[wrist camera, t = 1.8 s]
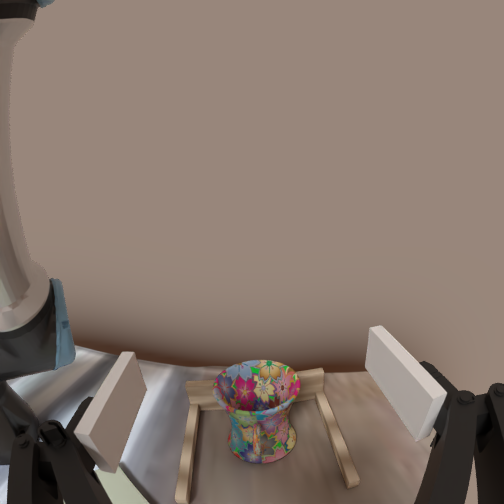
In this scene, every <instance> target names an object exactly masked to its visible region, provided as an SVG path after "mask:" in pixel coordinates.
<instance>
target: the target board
mask: <svg viewBox="0 0 504 504" xmlns="http://www.w3.org/2000/svg"><path fill="white" fill-rule="evenodd" d="M95 472H96V474H97V476H98V478H99V480H100V482H101V484H102V485H103V487H104V489H105V491H106V493H107V495H108V496H109V498H110V500H111V502H112V503H113V504H149V503H148V501H147V500H146V499H145V498H144V497H143V496H142V495H141V493H140V492H139V491H138V490H137V489H136V487H135V486H134V485H133V484H132V483H131V481H130V480H129V479H128V478H127V476H126V475H125V474H124V472H123V471H122V470H121V468H120V467H119V466H118V468H117V471H116V474H114V473H109V472H104V471H101V470H100V469H98V470H96V471H95ZM63 500H64V499H63ZM64 504H65V502H64Z"/></svg>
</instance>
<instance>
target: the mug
mask: <svg viewBox="0 0 504 504" xmlns="http://www.w3.org/2000/svg"><path fill="white" fill-rule="evenodd" d="M212 389H213V395H214V398H215V400H216V401H217V402H218V403H219V405H220V406H222V407H223V409H224V410H225V411H226V412H227V414H228V415H229V418H230V420H231V423H232V430H231V431H230V433H229V437H228V444H229V447H230V449H231V451H232V452H233V453H234V454H235V455H236V456H237V457H239V458H240V459H242V460H244V461H247V462H251V463H269V462H273V461H276V460H279V459H281V458H283V457H284V456H286V455H287V454H288V453H289V452H290V451H291V450H292V448H293V447H294V445H295V441H296V433H295V430H294V428H293V427H292V426H291V424H290V423H289V411H290V408H291V405H292V403H293V401H294V400H295V398H296V397H297V395H298V393H299V391H300V379H299V376H298V375H297V373H296V372H295V371H294V370H293V369H292V368H290V367H288V366H287V365H285V364H282V363H279V362H275V361H269V360H252V361H246V362H242V363H238V364H236V365H233V366H231V367H229V368H227V369H226V370H224V371H223V372H221V373H220V374H219V375H218V377H217V378H216V379H215V381H214V384H213V388H212Z"/></svg>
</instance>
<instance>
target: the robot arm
mask: <svg viewBox="0 0 504 504" xmlns="http://www.w3.org/2000/svg"><path fill="white" fill-rule="evenodd" d="M53 2H54V0H0V465H6V464H10V466H9V476H8V490H7V504H64V502H65V504H113V503H112V502H111V500H110V498H109V496H108V495H107V493H106V491H105V489H104V487H103V485H102V484H101V482H100V480H99V478H98V476H97V474H96V472H95V471H94V470H93V469H94V467H95V464H96V465H97V466H98V467H99V469H100V470H101V471H104V472H109V473H114V474H116V471H117V468H118V465H119V462H120V460H121V457H122V454H123V451H124V448H125V446H126V443H127V440H128V438H129V435H130V432H131V430H132V427H133V424H134V422H135V419H136V416H137V414H138V411H139V409H140V406H141V403H142V401H143V398H144V396H145V393H146V391H147V388H146V385H145V383H144V380H143V377H142V374H141V371H140V368H139V365H138V362H137V359H136V356H135V353H134V352H122V353H121V355H120V356H119V358H118V359H117V361H116V363H115V364H114V366H113V367H112V369H111V370H110V372H109V374H108V375H107V377H106V378H105V380H104V382H103V383H102V385H101V387H100V388H99V390H98V392H97V393H96V395H95V396H94V397H88V398H86V399H85V400H84V401H83V402H82V403H81V404H80V406H79V407H78V410H77V411H76V412H75V414H74V415H73V417H72V419H71V420H70V422H69V424H68V425H67V427H66V429H64V428H63V426H62V425H61V423H60V422H58V421H56V420H49V421H46V422H44V423H42V424H41V425H40V426H39V422H38V419H37V418H36V416H35V414H34V413H33V411H32V409H31V408H30V407H29V405H28V404H27V403H26V402H25V401H24V400H23V399H22V398H21V397H20V396H19V395H18V394H17V393H16V392H15V391H14V390H13V389H12V388H11V387H10V386H9V385H8V384H7V382H6V380H10V379H15V378H19V377H23V376H28V375H33V374H37V373H42V372H46V371H50V370H57V369H58V368H59V367H62V366H65V365H68V364H71V363H72V362H73V361H74V359H75V356H76V352H75V347H74V343H73V339H72V334H71V330H70V325H69V320H68V315H67V310H66V304H65V298H64V292H63V286H62V282H61V281H60V280H59V279H53V278H51V279H49V277H48V275H47V273H46V271H45V269H44V268H43V267H42V266H41V265H40V264H38V263H37V262H35V261H33V260H31V258H30V254H29V251H28V247H27V244H26V240H25V236H24V232H23V227H22V223H21V218H20V213H19V209H18V203H17V197H16V191H15V185H14V177H13V169H12V159H11V146H10V127H9V126H10V124H9V107H10V106H9V105H10V82H11V71H12V62H13V54H14V47H15V46H16V44H17V43H18V41H19V40H20V39H21V38H22V37H23V36H24V35H25V34H26V33H27V32H28V31H29V30H30V29H31V28H32V27H33V25H34V20H35V16H36V12H37V9H38V7H41V8H43V7H46V6H47V5H49V4H51V3H53ZM365 367H366V369H367V370H368V372H369V373H370V375H371V376H372V378H373V379H374V380H375V382H376V383H377V385H378V386H379V388H380V389H381V391H382V392H383V394H384V395H385V396H386V398H387V399H388V401H389V402H390V404H391V405H392V407H393V408H394V410H395V411H396V413H397V414H398V416H399V417H400V419H401V420H402V422H403V423H404V425H405V426H406V428H407V429H408V431H409V432H410V434H411V435H412V437H413V438H414V440H415V441H418V440H421V439H423V438H425V437H427V436H429V435H430V433H431V431H432V428H434V429H435V430H436V432H437V433H436V435H435V437H434V439H433V441H432V443H431V445H430V447H432V450H431V453H430V457H429V461H428V464H427V468H426V471H425V474H424V477H423V480H422V483H421V486H420V489H419V492H418V495H417V497H416V500H415V503H414V504H464V503H465V499H466V494H467V490H468V486H469V480H470V474H471V469H472V462H473V455H474V460H475V469H476V478H477V491H478V504H504V384H502V383H495V384H492V385H491V386H490V388H489V390H488V393H486V394H482V395H476V396H475V395H474V394H473V393H471V392H470V391H466V390H462V391H458V390H457V389H456V388H455V387H454V386H453V385H452V384H451V383H450V382H449V381H448V380H447V379H446V378H445V377H444V376H443V375H442V374H441V373H440V372H438V370H437V369H436V368H435V367H434V366H433V365H432V364H430V363H427V362H425V361H423V362H420V363H418V362H417V361H416V360H415V359H414V358H413V357H412V355H411V354H410V353H409V352H408V351H407V350H406V349H405V348H404V347H403V346H402V345H401V344H399V342H398V341H397V340H396V339H395V338H394V337H392V335H391V334H390V333H389V332H388V331H387V330H385V329H384V328H383V327H382V326H376V327H371V328H370V329H369V339H368V348H367V356H366V364H365ZM38 436H40V438H41V439H42V441H43V442H36V441H37V439H38ZM432 445H433V446H432ZM63 499H64V500H63Z"/></svg>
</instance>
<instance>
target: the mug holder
mask: <svg viewBox="0 0 504 504" xmlns="http://www.w3.org/2000/svg"><path fill="white" fill-rule="evenodd" d="M296 373H297V375H298V376H299V379H300V391H299V393H298V395H297V397H296V398H295V400H294V401H293V402H300V401H306V400H312V399H315V401H316V404H317V407H318V409H319V412H320V415H321V417H322V420H323V423H324V426H325V428H326V431H327V434H328V437H329V439H330V442H331V445H332V448H333V450H334V453H335V456H336V459H337V462H338V464H339V467H340V470H341V473H342V475H343V478H344V481H345V484H346V487H347V489H349V488H353V487H356V486H358V484H359V482H360V479H359V476H358V474H357V471H356V469H355V466H354V464H353V462H352V459H351V457H350V454H349V452H348V449H347V447H346V444H345V442H344V440H343V437H342V435H341V432H340V430H339V428H338V425H337V423H336V420H335V418H334V415H333V413H332V411H331V408H330V406H329V404H328V401H327V399H326V396H325V394H324V392H323V383H324V371H323V369H322V368H318V369H312V370H306V371H299V372H296ZM214 381H215V380H206V381H186V385H185V387H186V391H187V394H188V398H189V401H190V408H189V414H188V419H187V425H186V431H185V436H184V442H183V448H182V454H181V461H180V467H179V473H178V480H177V487H176V493H175V500H176V502H177V503H178V504H189V501H190V492H191V482H192V473H193V464H194V456H195V447H196V439H197V431H198V423H199V416H200V410H224V409H223V407H222V406H220V405H219V403H218V402H217V401H216V400H215V398H214V395H213V389H212V388H213V384H214Z"/></svg>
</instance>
